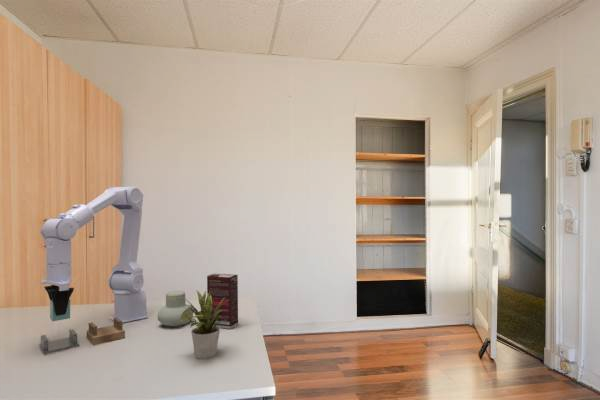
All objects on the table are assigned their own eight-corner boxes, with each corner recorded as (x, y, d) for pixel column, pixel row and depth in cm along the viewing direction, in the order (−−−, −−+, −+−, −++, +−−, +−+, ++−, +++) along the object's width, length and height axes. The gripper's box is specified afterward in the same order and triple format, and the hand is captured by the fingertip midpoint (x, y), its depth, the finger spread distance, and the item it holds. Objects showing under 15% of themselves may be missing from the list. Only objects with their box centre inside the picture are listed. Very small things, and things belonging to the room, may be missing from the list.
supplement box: (238, 324, 117) (238, 274, 117) (231, 329, 113) (230, 277, 113) (215, 322, 120) (214, 272, 120) (206, 326, 116) (206, 275, 116)
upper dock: (116, 330, 112) (116, 316, 112) (124, 338, 106) (124, 322, 106) (86, 337, 107) (86, 321, 107) (93, 345, 101) (93, 328, 101)
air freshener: (174, 317, 125) (174, 288, 125) (196, 319, 123) (196, 289, 123) (153, 328, 115) (153, 296, 115) (177, 330, 112) (176, 297, 112)
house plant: (165, 351, 97) (165, 288, 97) (215, 339, 105) (214, 281, 105) (185, 370, 85) (184, 299, 86) (239, 355, 94) (238, 290, 94)
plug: (67, 315, 104) (67, 295, 104) (70, 318, 101) (70, 297, 101) (50, 318, 101) (49, 297, 101) (52, 321, 98) (52, 300, 98)
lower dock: (73, 338, 106) (72, 327, 106) (79, 346, 101) (79, 334, 101) (39, 345, 101) (39, 334, 101) (43, 354, 95) (43, 342, 95)
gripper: (37, 261, 104) (37, 310, 104) (45, 267, 93) (45, 322, 93) (66, 258, 108) (66, 305, 108) (77, 264, 98) (78, 316, 98)
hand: (59, 312), depth 101 cm, fingers closed on plug, 4 cm apart
